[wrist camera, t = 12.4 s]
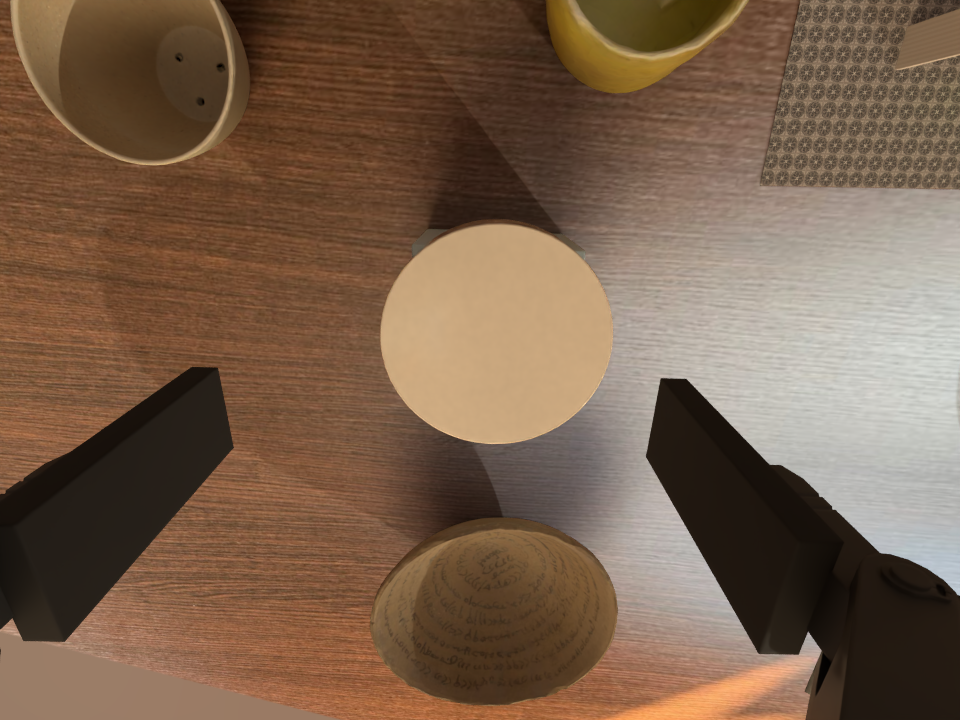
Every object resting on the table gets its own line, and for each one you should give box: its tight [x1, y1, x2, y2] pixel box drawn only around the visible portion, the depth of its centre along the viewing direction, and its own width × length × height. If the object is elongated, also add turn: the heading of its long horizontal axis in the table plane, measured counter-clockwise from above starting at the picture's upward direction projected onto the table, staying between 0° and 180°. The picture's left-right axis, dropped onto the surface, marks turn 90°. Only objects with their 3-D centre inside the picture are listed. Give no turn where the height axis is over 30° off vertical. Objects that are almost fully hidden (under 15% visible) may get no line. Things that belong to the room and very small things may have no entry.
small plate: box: [380, 219, 613, 444], centre depth 26 cm, size 12×12×2 cm
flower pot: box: [10, 0, 250, 165], centre depth 26 cm, size 10×10×7 cm
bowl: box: [370, 517, 618, 706], centre depth 39 cm, size 18×18×8 cm
